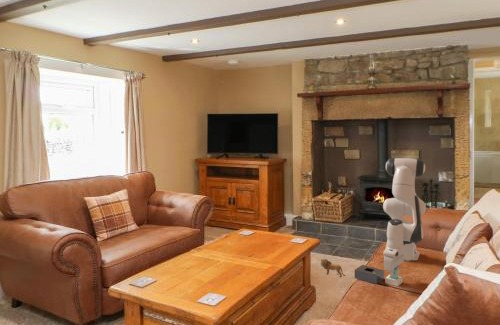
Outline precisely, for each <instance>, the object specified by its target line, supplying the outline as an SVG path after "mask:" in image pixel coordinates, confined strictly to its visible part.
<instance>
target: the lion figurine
mask: <svg viewBox="0 0 500 325" xmlns="http://www.w3.org/2000/svg"><path fill="white" fill-rule="evenodd" d="M320 265H321V267H323V269H324V270H326V273H325V275H329V274H330V270H331V271H336V272H337V273H336V275H337V276H338V277H339V278H342V277H346V275H345V274H344V272H343V268H342V266H341V265H340V264H337V263H336V264H333V263H332V262H331V261H330V260H328V259H326V258H321V259H320Z"/></svg>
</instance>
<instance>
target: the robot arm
mask: <svg viewBox="0 0 500 325" xmlns="http://www.w3.org/2000/svg"><path fill="white" fill-rule="evenodd" d="M385 171H386V173H387V175H390V176H391V177H393V178H392V184H391V185H392V188H391V193H392V195H393V197H391V198H386V199H385V200H384V202H383V204H382V209H383V211H384V213H386V214H387V215H388V216H389V218H390V220H388V222H387V226H386V239H387V241H386V245H385V249H384V250H383V252H382V253H383V254H382V255H383V268H384V271H387V272H389V275H391V276H393V275H394V271H393V270H394V268H396V267H397V268H398V270H399V268H400V264H402V263H403V262H404V261H407V262H409V261H418V260H419V258H420V255H421V252H420V251H417V245H416V244H418V243H420V242H422V241H423V239H424V229H423V225H422V224H423V223H422V216H423V215H425V213H426V210H427V206H426V204H425V201H423V200H422V199H421V198H419V196H418V195H417V193H416V189H415V188H416V186H415V185H416V182H415V181H416V178H417V177H419V178H420V177H422V176H423V175H424V173H425V171H426V164H425V161H424V160H422V159H419V158H412V157H410V158H409V157H398V158H397V157H396V158H395V157H391V158H388V159H387V160H386V162H385ZM403 216H408V217H412V222H413V223H412V222H410V221H408V220H406V219H405V218H403Z"/></svg>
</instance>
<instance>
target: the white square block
mask: <svg viewBox="0 0 500 325" xmlns="http://www.w3.org/2000/svg"><path fill="white" fill-rule="evenodd" d="M403 279H404V278H403V276H400V275H398V279H397V280H396V279H392V278H390V274H388V275H386V277H384V280H385V281H384V283H385V284H388V285H390V286H395V287H399V286H400V285H401V284H402V283H403Z"/></svg>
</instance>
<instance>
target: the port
mask: <svg viewBox="0 0 500 325" xmlns="http://www.w3.org/2000/svg"><path fill="white" fill-rule="evenodd" d="M354 279H356V280H360V281H363V282H367V283H371V284H375V285H378V284H379V283H380V282H381V281H383V280H385V269H382V268H381V269H380V268H376V267H372V266H370V265H364V264H361V265H360V266H358V267H356V268H355V269H354Z"/></svg>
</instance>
